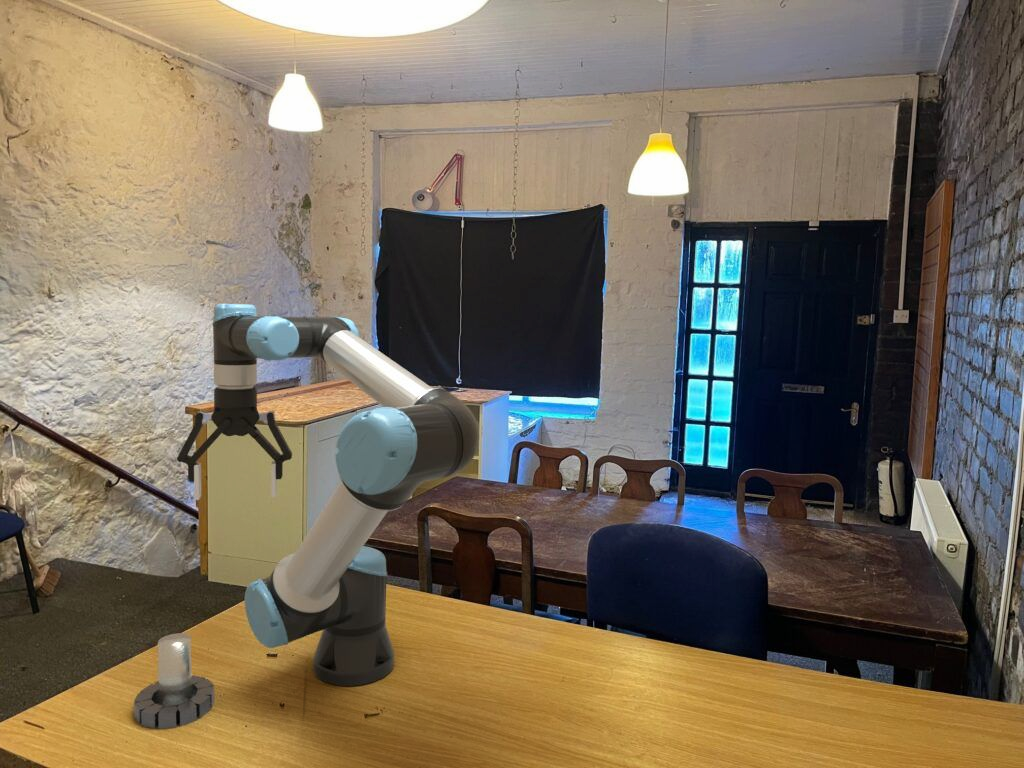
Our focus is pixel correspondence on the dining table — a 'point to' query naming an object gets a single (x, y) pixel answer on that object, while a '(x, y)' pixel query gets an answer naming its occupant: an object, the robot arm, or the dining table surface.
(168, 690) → the cylinder
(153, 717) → the ring
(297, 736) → the dining table surface
